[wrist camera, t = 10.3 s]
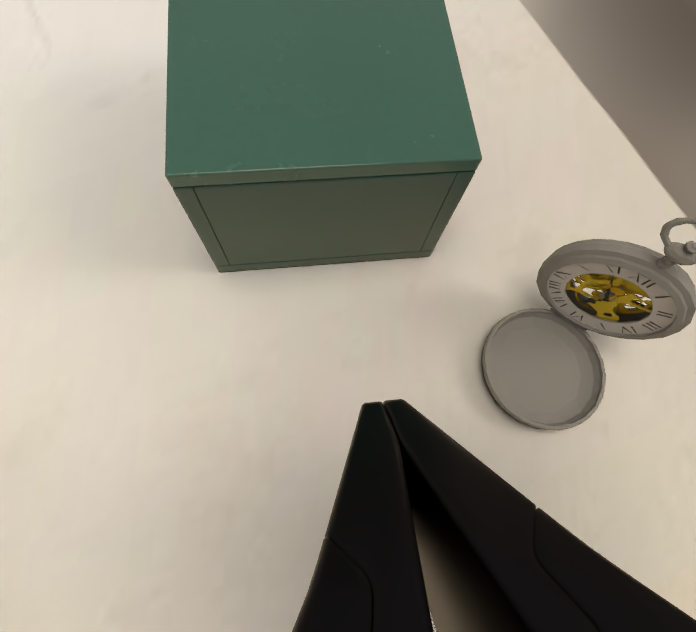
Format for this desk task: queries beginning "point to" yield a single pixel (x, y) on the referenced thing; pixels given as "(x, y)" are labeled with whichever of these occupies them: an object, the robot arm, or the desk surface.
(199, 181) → the lid
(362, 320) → the desk surface
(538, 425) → the pocket watch
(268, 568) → the desk surface
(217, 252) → the panel
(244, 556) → the desk surface
